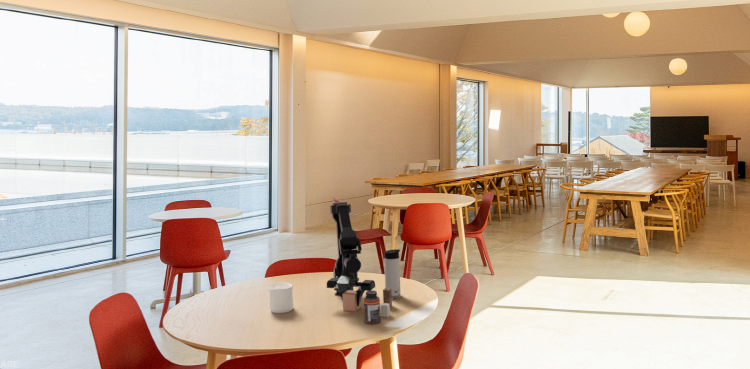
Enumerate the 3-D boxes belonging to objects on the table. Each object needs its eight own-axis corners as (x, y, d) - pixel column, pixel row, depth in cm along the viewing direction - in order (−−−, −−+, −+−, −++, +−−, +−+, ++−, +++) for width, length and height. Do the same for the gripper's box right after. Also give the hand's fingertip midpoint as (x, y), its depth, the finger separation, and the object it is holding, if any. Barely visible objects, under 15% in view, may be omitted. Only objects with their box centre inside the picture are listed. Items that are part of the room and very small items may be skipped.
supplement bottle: (363, 319, 216) (362, 289, 215) (379, 318, 216) (378, 288, 215) (364, 324, 210) (363, 294, 209) (381, 323, 210) (380, 293, 209)
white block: (381, 316, 218) (380, 305, 218) (383, 314, 221) (383, 303, 220) (387, 317, 217) (387, 305, 217) (390, 315, 220) (389, 303, 219)
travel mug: (400, 299, 239) (398, 251, 237) (384, 298, 241) (382, 251, 238) (402, 294, 245) (400, 248, 243) (387, 294, 247) (385, 248, 245)
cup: (274, 315, 225) (272, 290, 224) (266, 308, 233) (265, 284, 232) (297, 310, 229) (296, 286, 228) (288, 304, 238) (287, 281, 237)
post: (383, 307, 229) (383, 289, 229) (385, 305, 232) (385, 288, 231) (389, 307, 228) (389, 290, 228) (391, 305, 231) (391, 288, 230)
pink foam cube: (343, 310, 228) (342, 293, 227) (348, 306, 232) (347, 290, 232) (355, 311, 226) (354, 294, 225) (360, 307, 231) (359, 290, 230)
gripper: (319, 270, 223) (321, 309, 225) (364, 273, 217) (366, 313, 218) (331, 263, 234) (333, 301, 235) (375, 265, 227) (376, 304, 229)
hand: (351, 305), depth 229 cm, fingers closed on pink foam cube, 5 cm apart
